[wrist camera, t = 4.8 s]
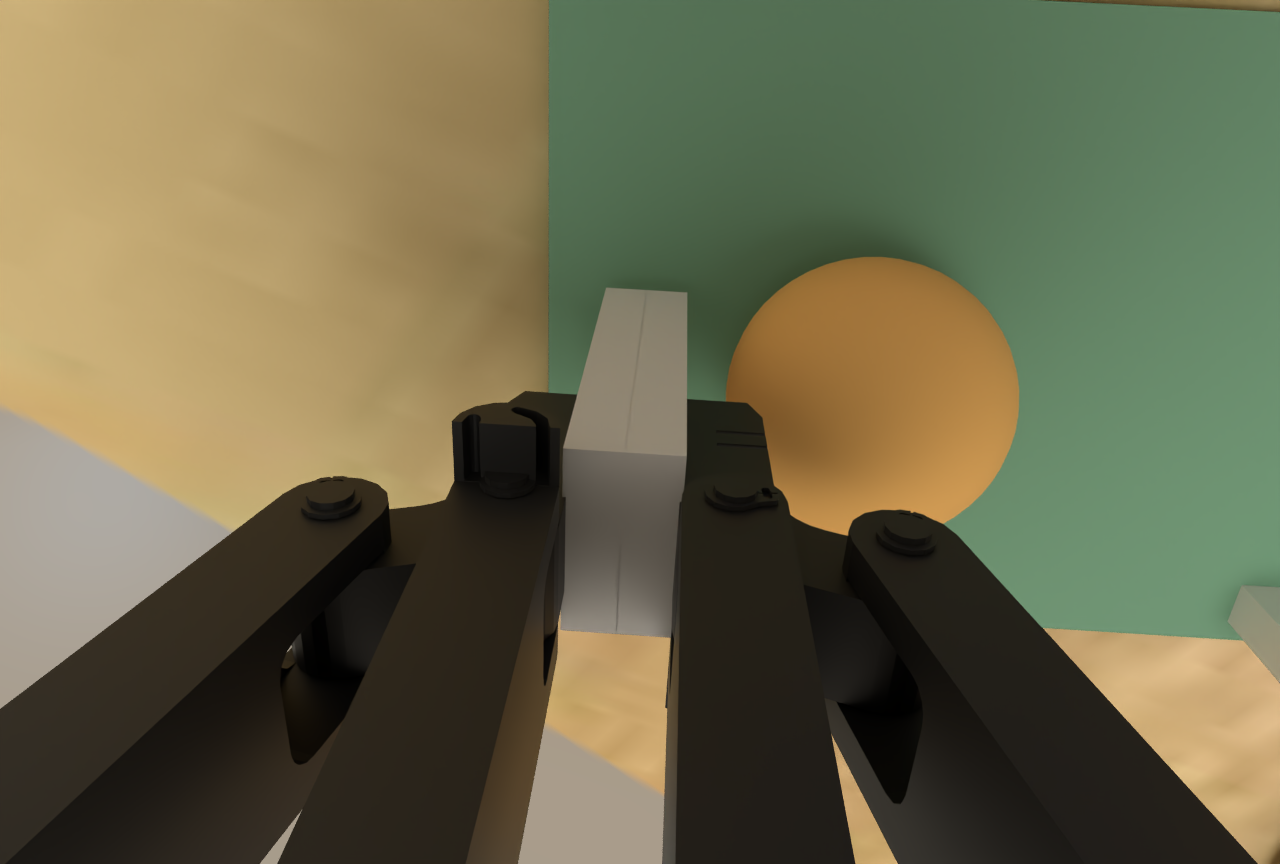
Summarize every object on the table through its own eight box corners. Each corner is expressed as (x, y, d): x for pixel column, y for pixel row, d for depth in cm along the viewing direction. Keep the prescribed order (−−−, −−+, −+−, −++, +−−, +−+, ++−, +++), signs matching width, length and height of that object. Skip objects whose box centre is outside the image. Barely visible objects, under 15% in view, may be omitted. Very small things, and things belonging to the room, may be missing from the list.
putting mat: (2074, 50, 16) (2107, 52, 15) (1670, 656, 21) (1688, 668, 21) (551, -24, 16) (549, -24, 16) (551, 586, 22) (548, 596, 22)
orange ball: (996, 233, 18) (1103, 319, 13) (946, 466, 20) (1023, 609, 15) (731, 219, 18) (747, 300, 13) (711, 452, 20) (718, 590, 15)
